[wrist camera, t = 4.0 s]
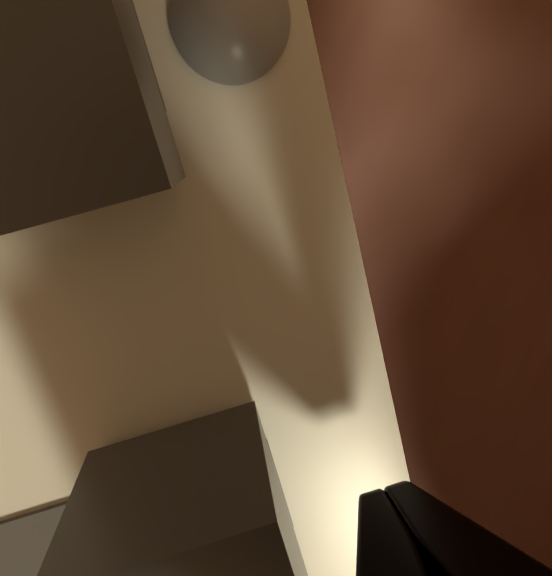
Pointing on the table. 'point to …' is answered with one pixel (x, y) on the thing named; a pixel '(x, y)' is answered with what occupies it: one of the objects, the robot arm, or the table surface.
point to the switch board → (205, 294)
